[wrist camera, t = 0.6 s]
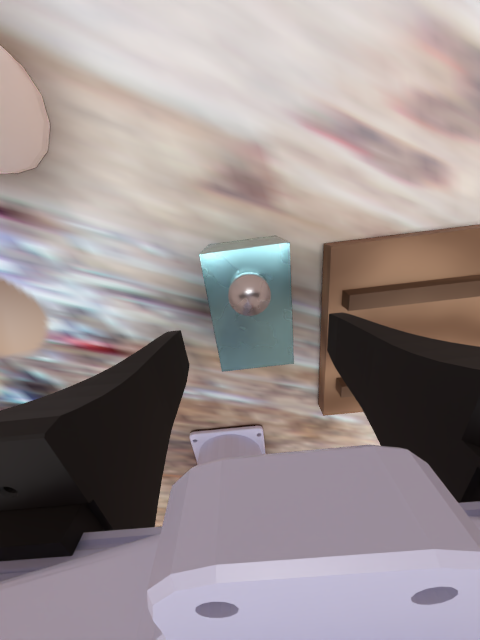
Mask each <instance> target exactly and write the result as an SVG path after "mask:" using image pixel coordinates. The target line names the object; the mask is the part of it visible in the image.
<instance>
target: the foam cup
mask: <svg viewBox="0 0 480 640" xmlns="http://www.w3.org/2000/svg"><path fill="white" fill-rule="evenodd" d="M49 133H50V123H49V119H48V116H47V112H46V109H45V105H44V102H43V98H42V95H41V93H40V92H39V90H38V89H37V87H36V86H35V84H34V83H33V81H32V80H31V78H30V77H29V75H28V74H27V72H26V71H25V69H24V68H23V66H22V65H21V64H20V63H18V62H17V61H16V60H15V59H14V58H13V56H12V55H10V54H9V53H8V52H7V51H6V50H5V49H4V48H3V47H2V46H0V173H1V174H9V173H16V174H17V173H20V172H23V171H27V170H30V169H33V168H36V167H37V165H38V164H39V163H40V161H41V160H42V158H43V157H44V155H45V154H46V153H47V151H48V145H49Z"/></svg>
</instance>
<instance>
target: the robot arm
mask: <svg viewBox="0 0 480 640" xmlns="http://www.w3.org/2000/svg"><path fill="white" fill-rule="evenodd" d="M327 351H328V353H329V356H330V358H331V360H332V362H333V364H334V366H335V368H336V370H337V371H338V373H339V374H340V376H341V378H342V379H343V381H344V382H345V384H346V385H347V387H348V388H349V390H350V391H351V393H352V394H353V396H354V397H355V399H356V400H357V402H358V403H359V405H360V406H361V408H362V410H363V411H364V413H365V415H366V417H367V419H368V421H369V423H370V425H371V426H372V428H373V430H374V432H375V434H376V436H377V438H378V440H379V442H380V445H381V446H376V445H362V446H351V447H340V448H328V449H317V450H306V451H295V452H284V453H273V454H266V453H265V444H264V435H263V428H262V427H261V426H249V427H238V428H228V429H217V430H206V431H196V432H192V433H191V434H190V441H191V444H192V447H193V451H194V454H195V457H196V461H197V465H196V466H194V467H193V468H191V469H190V470H188V471H187V472H186V473H185V474H184V475H183V476H182V477H181V478H180V479H179V480H178V481H177V482H175V483H174V484H173V485H172V488H171V492H170V496H169V501H168V505H167V509H166V513H165V517H164V521H163V526H162V527H155V520H156V513H157V506H158V500H159V493H160V487H161V481H162V475H163V470H164V464H165V459H166V453H167V449H168V444H169V439H170V434H171V430H172V427H173V423H174V420H175V417H176V414H177V411H178V408H179V404H180V401H181V398H182V395H183V392H184V389H185V386H186V382H187V377H188V371H189V361H188V358H187V354H186V350H185V346H184V342H183V338H182V334H181V330H180V331H171V332H167V333H165V334H163V335H161V336H160V337H158V338H157V339H155V340H154V341H152V342H151V343H149V344H148V345H146V346H145V347H143V348H142V349H141V350H139V351H137V352H136V353H134V354H133V355H131V356H129V357H128V358H126V359H125V360H123V361H122V362H120V363H118V364H116V365H115V366H113V367H111V368H109V369H107V370H105V371H103V372H101V373H99V374H97V375H95V376H93V377H91V378H89V379H86V380H84V381H82V382H80V383H77V384H75V385H73V386H71V387H68V388H66V389H63V390H61V391H58V392H55V393H53V394H50V395H47V396H45V397H42V398H39V399H36V400H33V401H30V402H27V403H24V404H21V405H18V406H14V407H11V408H8V409H4V410H1V411H0V640H480V347H479V346H471V345H465V344H459V343H453V342H447V341H442V340H437V339H432V338H428V337H423V336H419V335H415V334H411V333H407V332H404V331H400V330H397V329H393V328H390V327H387V326H384V325H381V324H378V323H375V322H372V321H369V320H366V319H363V318H360V317H357V316H354V315H351V314H347V313H343V312H341V313H332V314H329V323H328V343H327Z"/></svg>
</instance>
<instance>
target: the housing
mask: <svg viewBox="0 0 480 640" xmlns="http://www.w3.org/2000/svg"><path fill="white" fill-rule="evenodd" d="M199 257H200V262H201V267H202V272H203V277H204V282H205V287H206V292H207V297H208V302H209V307H210V313H211V318H212V323H213V328H214V333H215V338H216V343H217V348H218V353H219V358H220V363H221V369H222V372H223V371H232V370H240V369H249V368H258V367H267V366H276V365H285V364H294V355H293V326H292V298H291V269H290V242H288V241H285V240H283V239H281V238H279V237H277V236H269V237H262V238H254V239H247V240H240V241H232V242H225V243H218V244H210V245H208V246H207V247H206V248H205V249H204V250H203V251H202V252H201V253H200V254H199Z"/></svg>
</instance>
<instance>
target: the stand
mask: <svg viewBox="0 0 480 640" xmlns="http://www.w3.org/2000/svg"><path fill="white" fill-rule="evenodd" d="M341 312H343V313H347V314H351V315H354V316H357V317H360V318H363V319H366V320H369V321H372V322H375V323H378V324H381V325H384V326H387V327H390V328H393V329H397V330H400V331H404V332H407V333H411V334H415V335H419V336H423V337H428V338H432V339H437V340H442V341H447V342H453V343H459V344H465V345H471V346H479V347H480V225H472V226H464V227H455V228H447V229H439V230H431V231H423V232H415V233H407V234H399V235H390V236H382V237H374V238H366V239H358V240H350V241H342V242H333V243H325V244H324V251H323V280H322V310H321V339H320V369H319V398H318V405H319V407H320V409H321V411H322V414H323V416H324V415H334V414H345V413H355V412H364V411H363V410H362V408H361V406H360V405H359V403H358V402H357V400H356V399H355V397H354V396H353V394H352V393H351V391H350V390H349V388H348V387H347V385H346V384H345V382H344V381H343V379H342V378H341V376H340V374H339V373H338V371H337V370H336V368H335V366H334V364H333V362H332V360H331V358H330V356H329V353H328V351H327V343H328V323H329V314H332V313H341Z"/></svg>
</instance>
